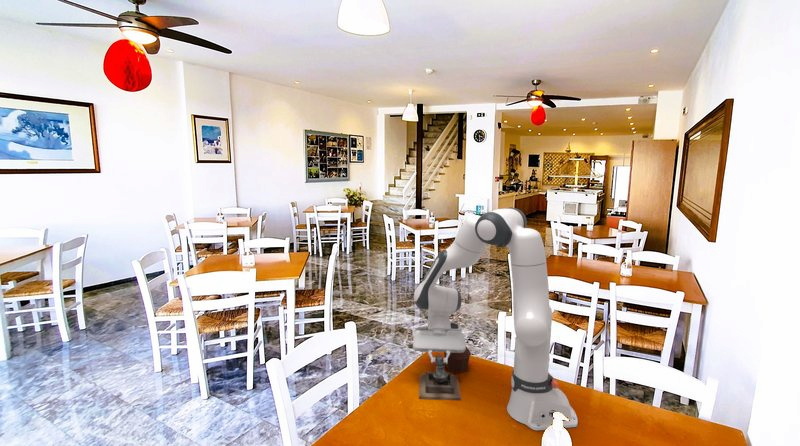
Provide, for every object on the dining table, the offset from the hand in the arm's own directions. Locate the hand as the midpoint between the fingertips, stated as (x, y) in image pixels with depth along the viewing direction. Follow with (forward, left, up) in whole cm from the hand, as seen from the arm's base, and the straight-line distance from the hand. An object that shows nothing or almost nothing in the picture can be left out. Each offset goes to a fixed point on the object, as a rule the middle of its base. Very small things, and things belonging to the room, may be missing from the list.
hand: (439, 363), depth 146 cm
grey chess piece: (-1, -2, -9) cm, 10 cm away
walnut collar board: (0, -1, -11) cm, 11 cm away
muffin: (-8, -17, -11) cm, 22 cm away
